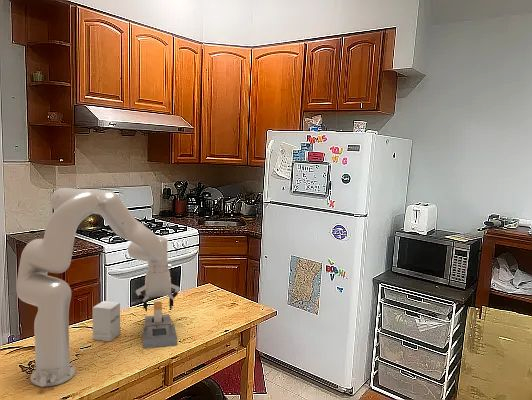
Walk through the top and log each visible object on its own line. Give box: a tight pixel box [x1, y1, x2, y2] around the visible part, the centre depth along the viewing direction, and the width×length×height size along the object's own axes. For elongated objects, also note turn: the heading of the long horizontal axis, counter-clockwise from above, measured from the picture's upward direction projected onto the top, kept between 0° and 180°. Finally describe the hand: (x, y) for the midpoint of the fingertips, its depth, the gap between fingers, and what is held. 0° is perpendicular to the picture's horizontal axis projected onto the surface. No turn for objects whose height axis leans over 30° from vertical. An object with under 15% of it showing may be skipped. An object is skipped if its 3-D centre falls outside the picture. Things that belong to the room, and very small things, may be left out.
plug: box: [153, 301, 163, 323], centre depth 176 cm, size 4×3×9 cm
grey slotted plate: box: [144, 313, 172, 327], centre depth 176 cm, size 10×10×2 cm
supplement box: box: [92, 300, 121, 342], centre depth 164 cm, size 7×7×13 cm
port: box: [142, 323, 178, 349], centre depth 163 cm, size 12×12×3 cm
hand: (158, 308), depth 176 cm, fingers open, 9 cm apart
